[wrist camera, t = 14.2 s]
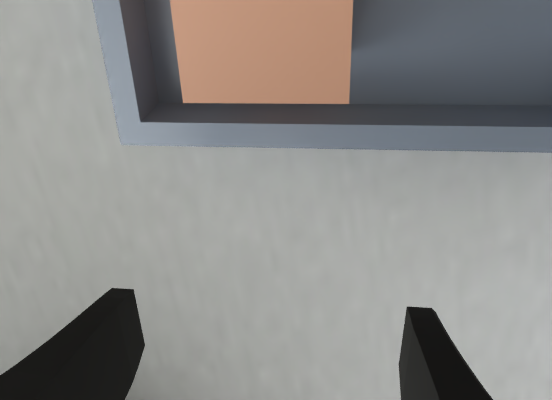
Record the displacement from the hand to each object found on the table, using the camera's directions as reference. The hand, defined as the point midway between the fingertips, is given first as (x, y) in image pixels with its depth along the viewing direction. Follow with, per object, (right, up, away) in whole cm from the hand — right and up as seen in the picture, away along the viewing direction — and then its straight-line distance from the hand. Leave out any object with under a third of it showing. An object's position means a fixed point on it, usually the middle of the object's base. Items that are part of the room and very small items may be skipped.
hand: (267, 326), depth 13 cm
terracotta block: (+1, +10, +2) cm, 10 cm away
